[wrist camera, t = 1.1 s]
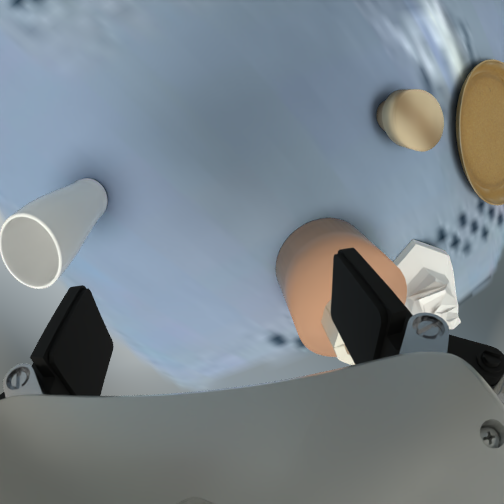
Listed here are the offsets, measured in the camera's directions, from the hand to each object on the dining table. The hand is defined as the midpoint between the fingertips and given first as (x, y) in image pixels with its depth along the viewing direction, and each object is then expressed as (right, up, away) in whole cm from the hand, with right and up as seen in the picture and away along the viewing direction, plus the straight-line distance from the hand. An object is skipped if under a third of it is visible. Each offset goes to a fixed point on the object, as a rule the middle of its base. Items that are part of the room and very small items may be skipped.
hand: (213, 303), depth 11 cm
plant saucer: (+41, +22, +24) cm, 52 cm away
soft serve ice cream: (+27, -2, +33) cm, 43 cm away
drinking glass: (-18, +8, +22) cm, 29 cm away
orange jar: (+11, 0, +29) cm, 31 cm away
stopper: (+19, +19, +22) cm, 34 cm away
